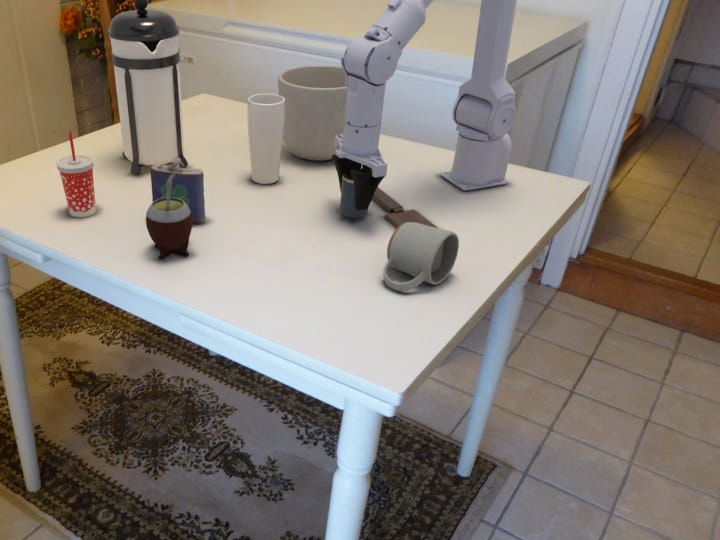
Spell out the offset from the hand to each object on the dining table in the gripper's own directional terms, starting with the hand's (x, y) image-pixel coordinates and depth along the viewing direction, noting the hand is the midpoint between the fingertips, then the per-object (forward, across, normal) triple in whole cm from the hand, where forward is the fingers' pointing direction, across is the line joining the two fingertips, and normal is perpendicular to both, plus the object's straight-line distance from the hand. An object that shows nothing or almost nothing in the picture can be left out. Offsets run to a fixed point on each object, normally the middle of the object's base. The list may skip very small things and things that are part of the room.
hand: (354, 202), depth 115 cm
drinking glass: (+3, -20, -8) cm, 22 cm away
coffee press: (+3, -37, -26) cm, 46 cm away
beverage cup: (+3, -18, -44) cm, 47 cm away
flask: (+3, -9, -28) cm, 30 cm away
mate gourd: (+3, +2, -32) cm, 33 cm away
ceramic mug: (+3, +22, -1) cm, 22 cm away
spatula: (+2, -2, +8) cm, 8 cm away
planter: (+3, -29, +6) cm, 30 cm away
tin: (+2, 0, 0) cm, 2 cm away
